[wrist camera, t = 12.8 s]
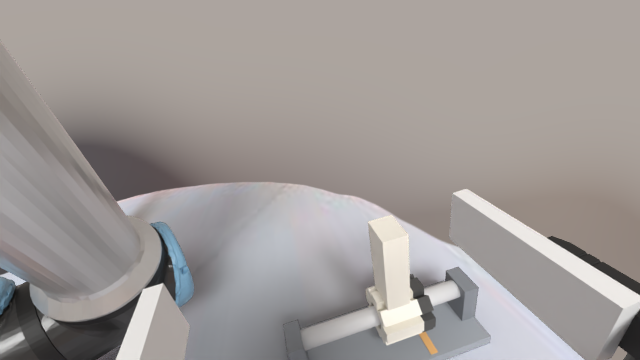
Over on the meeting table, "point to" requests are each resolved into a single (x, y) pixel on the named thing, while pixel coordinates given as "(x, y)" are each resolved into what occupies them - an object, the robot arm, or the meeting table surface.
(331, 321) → the pipe stand
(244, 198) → the meeting table surface
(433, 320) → the ring
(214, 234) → the meeting table surface
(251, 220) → the meeting table surface
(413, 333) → the sleeve
